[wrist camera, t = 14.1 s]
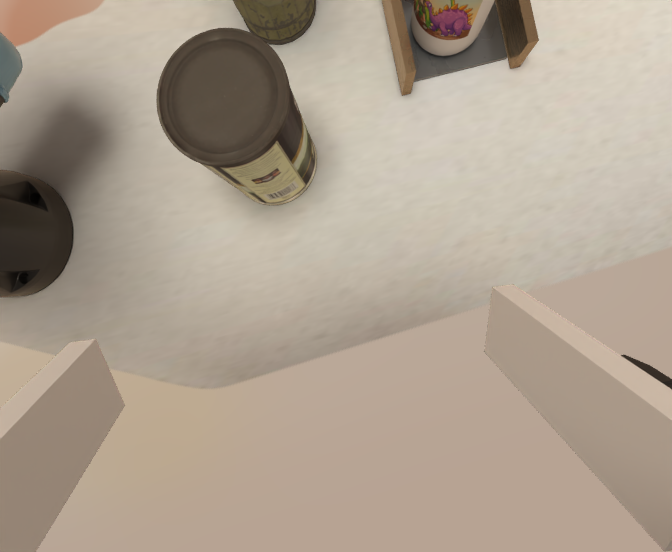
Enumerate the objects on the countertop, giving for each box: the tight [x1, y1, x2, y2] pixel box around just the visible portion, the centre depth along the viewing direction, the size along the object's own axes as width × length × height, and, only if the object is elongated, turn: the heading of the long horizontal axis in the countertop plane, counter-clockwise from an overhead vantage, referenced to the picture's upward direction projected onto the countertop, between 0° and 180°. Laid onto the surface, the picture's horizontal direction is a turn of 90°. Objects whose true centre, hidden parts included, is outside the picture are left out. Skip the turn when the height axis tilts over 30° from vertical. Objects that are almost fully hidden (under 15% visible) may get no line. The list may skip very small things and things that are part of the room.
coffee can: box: [157, 28, 317, 205], centre depth 32 cm, size 10×10×14 cm
